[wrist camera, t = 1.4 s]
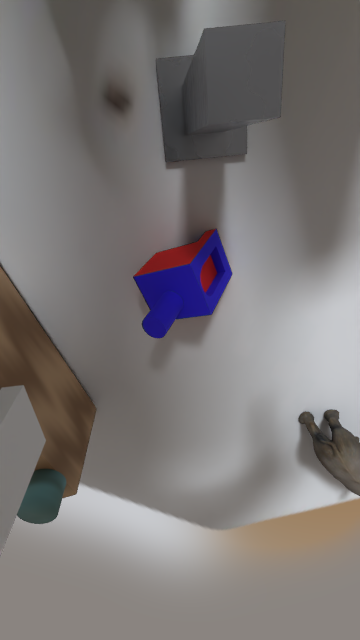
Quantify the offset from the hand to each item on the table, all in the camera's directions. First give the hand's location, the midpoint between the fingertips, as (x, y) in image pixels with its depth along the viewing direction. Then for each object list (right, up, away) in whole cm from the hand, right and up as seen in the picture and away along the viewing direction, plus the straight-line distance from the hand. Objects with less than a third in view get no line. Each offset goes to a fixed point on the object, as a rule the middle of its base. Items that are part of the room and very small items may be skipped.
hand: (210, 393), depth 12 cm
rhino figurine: (+16, -10, +22) cm, 29 cm away
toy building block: (-1, +7, +12) cm, 14 cm away
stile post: (0, +15, +7) cm, 17 cm away
